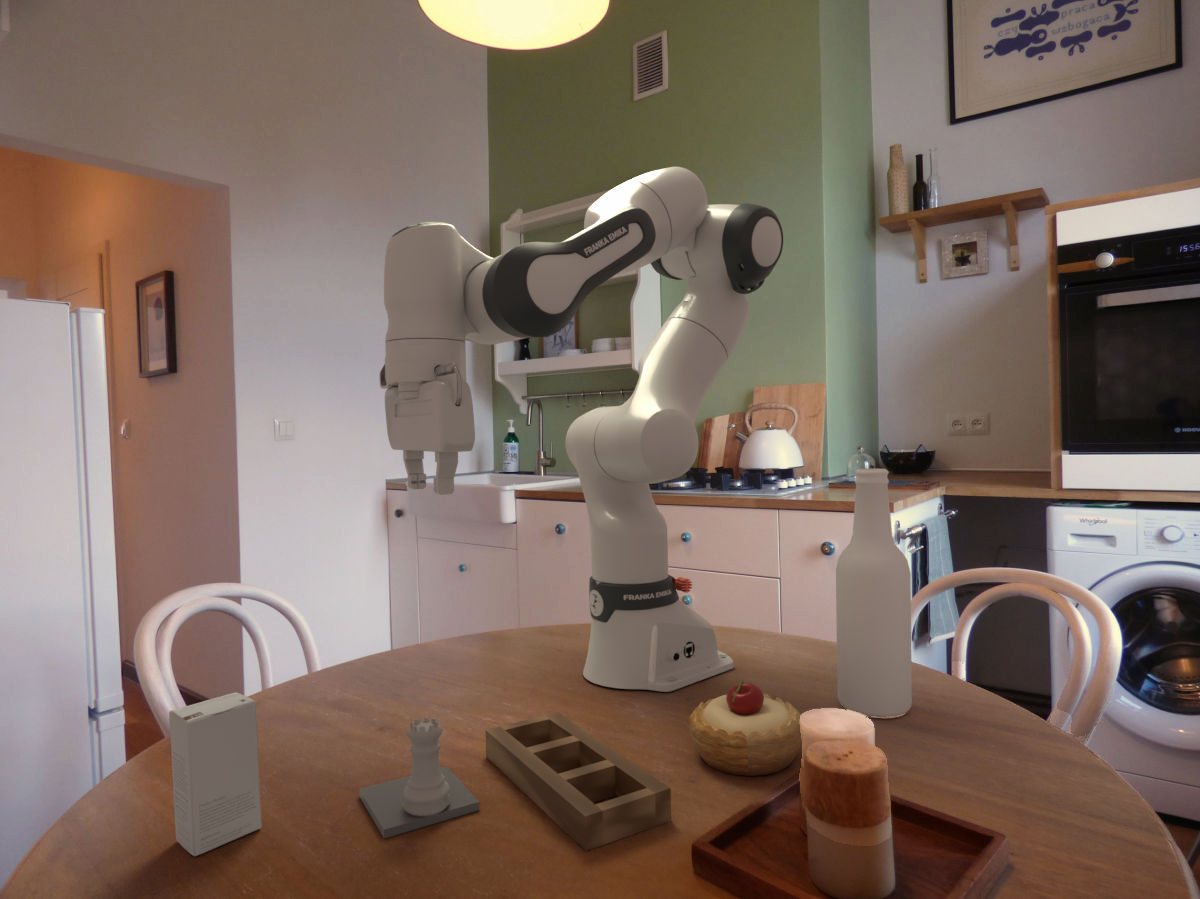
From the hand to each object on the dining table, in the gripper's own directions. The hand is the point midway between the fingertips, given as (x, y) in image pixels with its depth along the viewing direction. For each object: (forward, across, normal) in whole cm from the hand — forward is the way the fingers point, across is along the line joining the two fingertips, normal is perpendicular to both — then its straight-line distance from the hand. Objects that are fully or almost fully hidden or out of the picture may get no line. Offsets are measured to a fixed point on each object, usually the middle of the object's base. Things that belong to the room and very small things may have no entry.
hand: (430, 491), depth 85 cm
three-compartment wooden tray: (+29, -17, -8) cm, 35 cm away
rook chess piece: (+28, -15, +6) cm, 33 cm away
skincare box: (+29, -8, +23) cm, 38 cm away
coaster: (+29, -12, +6) cm, 32 cm away
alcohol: (+29, -20, -50) cm, 61 cm away
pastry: (+29, -22, -27) cm, 46 cm away
